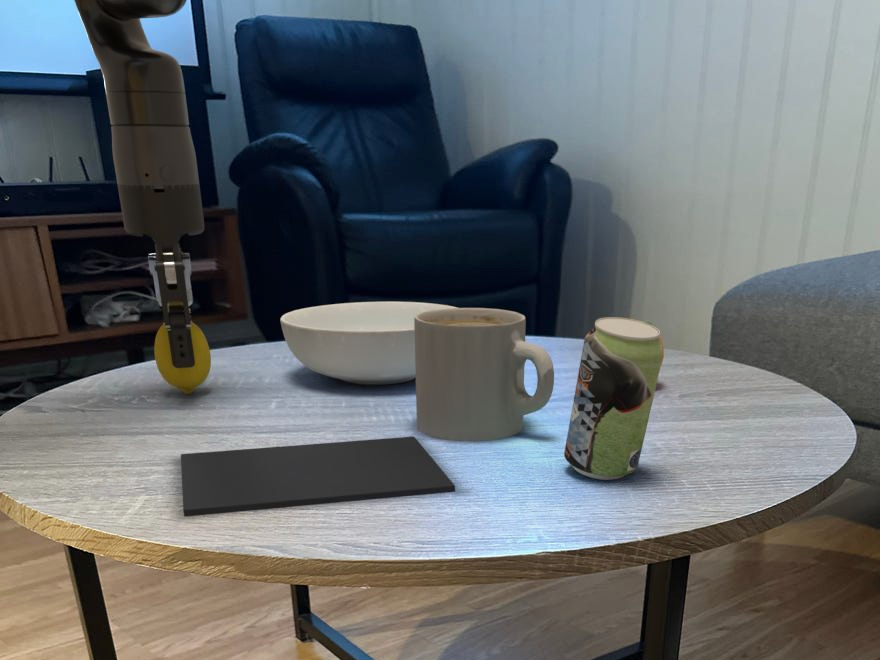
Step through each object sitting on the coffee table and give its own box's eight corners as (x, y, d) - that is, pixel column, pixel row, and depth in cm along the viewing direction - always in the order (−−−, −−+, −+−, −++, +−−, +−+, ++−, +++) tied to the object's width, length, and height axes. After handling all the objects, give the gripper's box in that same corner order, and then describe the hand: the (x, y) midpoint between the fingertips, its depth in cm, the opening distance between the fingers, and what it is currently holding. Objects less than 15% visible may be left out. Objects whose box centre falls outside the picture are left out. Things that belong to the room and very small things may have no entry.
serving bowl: (436, 353, 119) (435, 296, 115) (496, 389, 101) (497, 323, 98) (271, 364, 112) (265, 304, 109) (305, 405, 95) (300, 335, 92)
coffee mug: (395, 427, 88) (391, 316, 83) (469, 408, 94) (469, 304, 89) (499, 457, 80) (501, 336, 75) (572, 434, 86) (578, 321, 81)
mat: (184, 517, 67) (183, 510, 66) (181, 460, 78) (180, 453, 78) (455, 492, 72) (455, 485, 71) (414, 442, 84) (414, 436, 83)
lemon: (213, 399, 97) (202, 319, 93) (157, 401, 96) (145, 320, 92) (217, 387, 102) (207, 310, 98) (164, 389, 101) (152, 311, 97)
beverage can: (586, 457, 80) (595, 310, 74) (665, 473, 76) (681, 319, 71) (547, 475, 75) (554, 320, 70) (629, 493, 72) (643, 331, 66)
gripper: (120, 177, 94) (147, 349, 102) (113, 183, 82) (144, 377, 90) (196, 177, 96) (217, 346, 104) (201, 182, 84) (224, 373, 92)
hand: (183, 360), depth 97 cm, fingers closed on lemon, 5 cm apart
